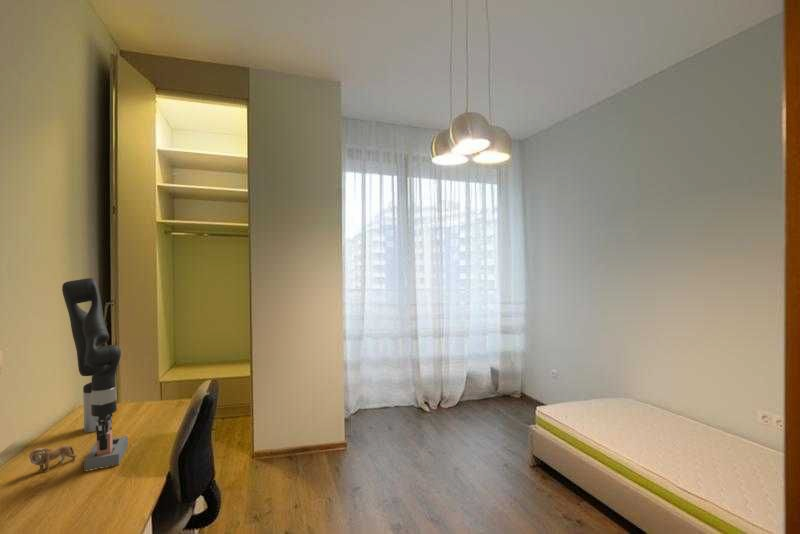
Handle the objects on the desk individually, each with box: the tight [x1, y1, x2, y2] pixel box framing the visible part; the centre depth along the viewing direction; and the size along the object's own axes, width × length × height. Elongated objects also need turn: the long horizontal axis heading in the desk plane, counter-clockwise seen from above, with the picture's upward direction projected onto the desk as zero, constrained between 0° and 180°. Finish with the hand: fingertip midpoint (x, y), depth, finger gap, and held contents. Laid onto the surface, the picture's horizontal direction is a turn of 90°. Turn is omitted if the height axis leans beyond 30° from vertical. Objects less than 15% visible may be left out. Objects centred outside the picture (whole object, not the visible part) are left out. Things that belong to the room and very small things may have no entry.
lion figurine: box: [29, 444, 77, 473], centre depth 143 cm, size 15×5×9 cm, turn 163°
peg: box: [96, 429, 114, 456], centre depth 146 cm, size 4×4×10 cm
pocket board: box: [83, 435, 129, 472], centre depth 150 cm, size 18×10×4 cm, turn 26°
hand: (104, 446), depth 146 cm, fingers closed on peg, 4 cm apart
